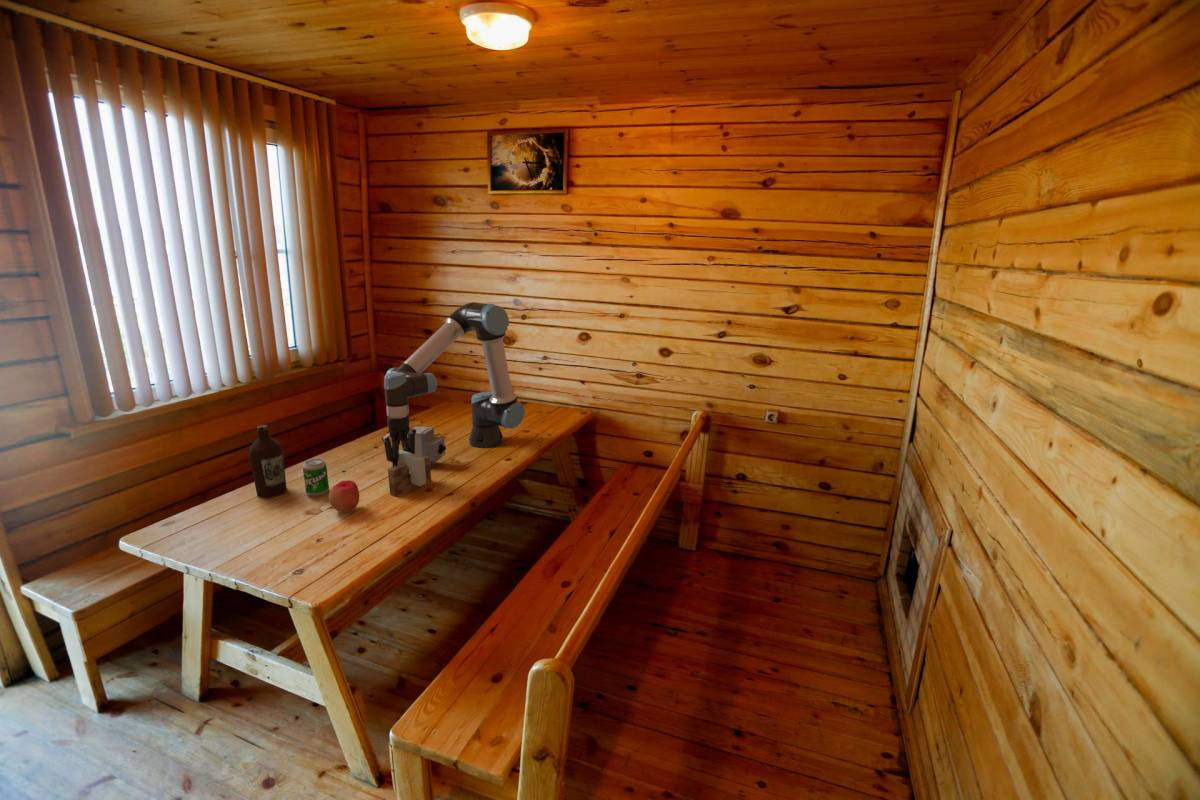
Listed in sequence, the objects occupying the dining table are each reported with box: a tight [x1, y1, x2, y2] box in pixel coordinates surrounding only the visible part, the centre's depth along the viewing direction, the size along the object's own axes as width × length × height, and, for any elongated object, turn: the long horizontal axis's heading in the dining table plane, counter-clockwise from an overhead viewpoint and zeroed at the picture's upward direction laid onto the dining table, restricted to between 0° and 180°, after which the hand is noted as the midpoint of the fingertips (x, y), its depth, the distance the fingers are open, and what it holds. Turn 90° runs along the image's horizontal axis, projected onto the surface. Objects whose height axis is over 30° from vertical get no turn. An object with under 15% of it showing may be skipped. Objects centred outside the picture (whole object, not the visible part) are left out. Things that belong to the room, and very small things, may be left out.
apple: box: [328, 480, 360, 513], centre depth 193 cm, size 10×10×10 cm
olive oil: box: [248, 424, 288, 499], centre depth 204 cm, size 11×11×25 cm
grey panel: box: [398, 449, 427, 487], centre depth 210 cm, size 14×3×10 cm, turn 55°
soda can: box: [302, 458, 330, 497], centre depth 206 cm, size 8×8×12 cm
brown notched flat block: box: [387, 456, 432, 497], centre depth 211 cm, size 16×3×10 cm, turn 145°
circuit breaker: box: [407, 426, 447, 467], centre depth 232 cm, size 8×14×15 cm, turn 78°
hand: (402, 475), depth 214 cm, fingers closed on grey panel, 3 cm apart
